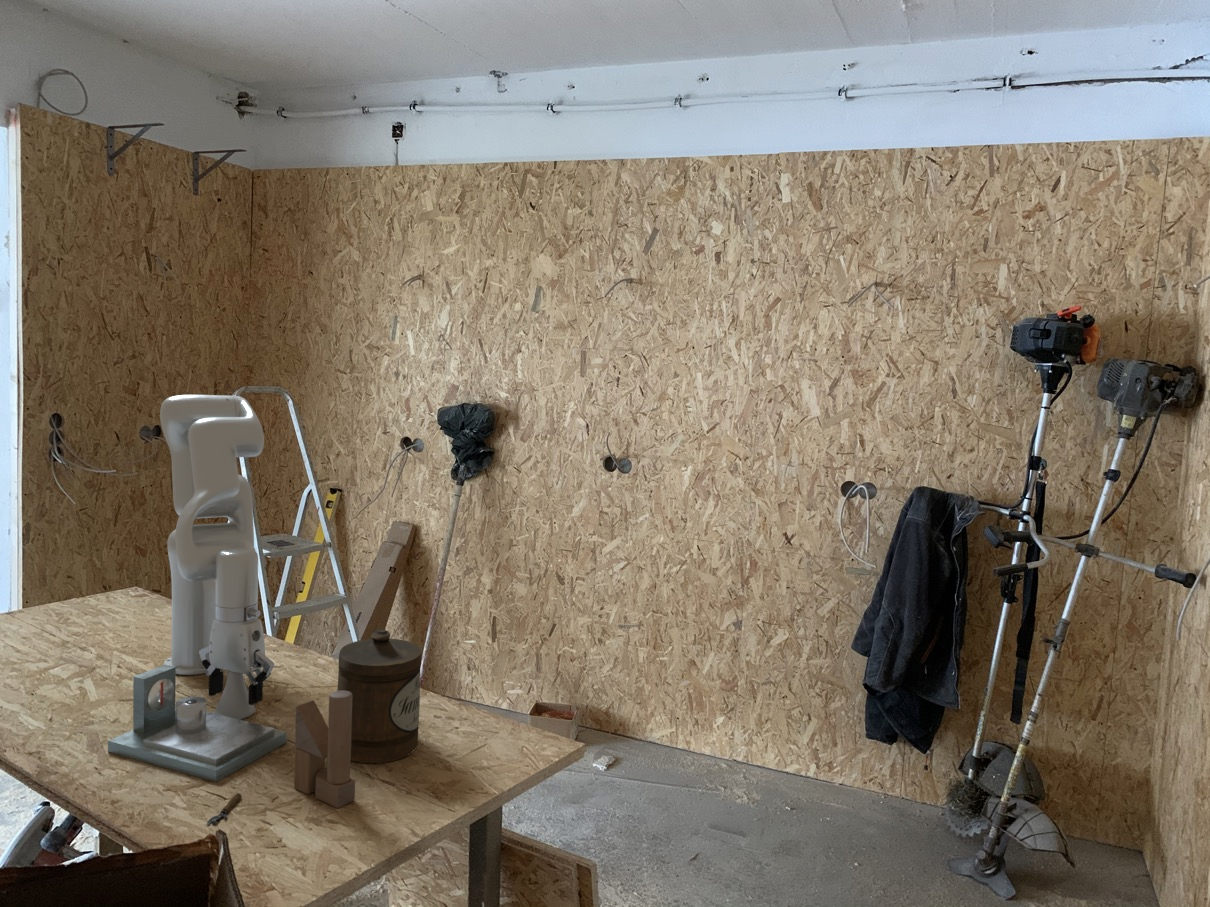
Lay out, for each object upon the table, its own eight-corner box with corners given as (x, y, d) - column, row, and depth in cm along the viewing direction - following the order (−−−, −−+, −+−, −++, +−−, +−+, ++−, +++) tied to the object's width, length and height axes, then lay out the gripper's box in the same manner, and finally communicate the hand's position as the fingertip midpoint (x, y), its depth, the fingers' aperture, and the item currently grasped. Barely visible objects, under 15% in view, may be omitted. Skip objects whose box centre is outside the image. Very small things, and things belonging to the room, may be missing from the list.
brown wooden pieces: (311, 780, 150) (313, 677, 148) (355, 800, 144) (358, 693, 142) (292, 788, 147) (295, 683, 145) (337, 809, 141) (340, 700, 139)
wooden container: (416, 763, 158) (420, 643, 156) (329, 765, 156) (332, 643, 153) (419, 728, 173) (424, 618, 170) (340, 729, 170) (343, 617, 168)
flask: (262, 711, 176) (263, 662, 175) (236, 724, 170) (237, 673, 169) (233, 704, 179) (233, 656, 178) (206, 717, 172) (206, 667, 171)
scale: (184, 716, 171) (185, 656, 170) (286, 742, 163) (287, 679, 162) (107, 751, 156) (107, 685, 154) (216, 782, 147) (217, 712, 146)
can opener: (235, 799, 143) (235, 792, 143) (249, 800, 143) (249, 793, 143) (202, 828, 134) (202, 820, 134) (216, 830, 134) (216, 822, 134)
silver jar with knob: (190, 720, 163) (191, 694, 162) (212, 726, 161) (212, 699, 161) (168, 731, 158) (169, 703, 158) (190, 736, 157) (191, 709, 156)
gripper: (286, 614, 172) (284, 699, 174) (216, 601, 178) (215, 684, 180) (258, 623, 165) (257, 713, 167) (186, 610, 171) (185, 696, 173)
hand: (235, 698), depth 174 cm, fingers open, 9 cm apart
